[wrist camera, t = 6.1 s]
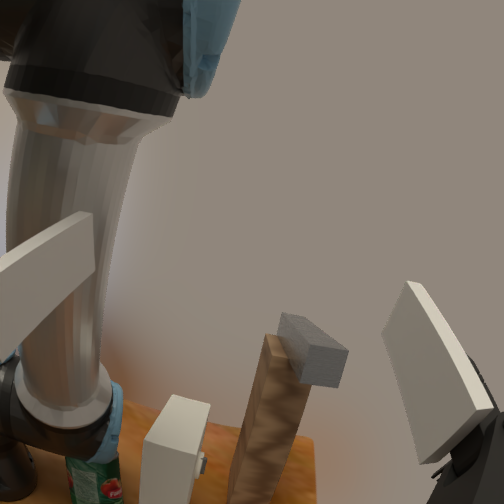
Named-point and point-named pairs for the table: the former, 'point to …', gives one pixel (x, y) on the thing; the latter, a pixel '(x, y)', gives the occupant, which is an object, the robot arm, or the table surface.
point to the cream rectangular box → (174, 452)
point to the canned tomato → (94, 481)
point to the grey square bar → (311, 351)
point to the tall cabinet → (267, 427)
